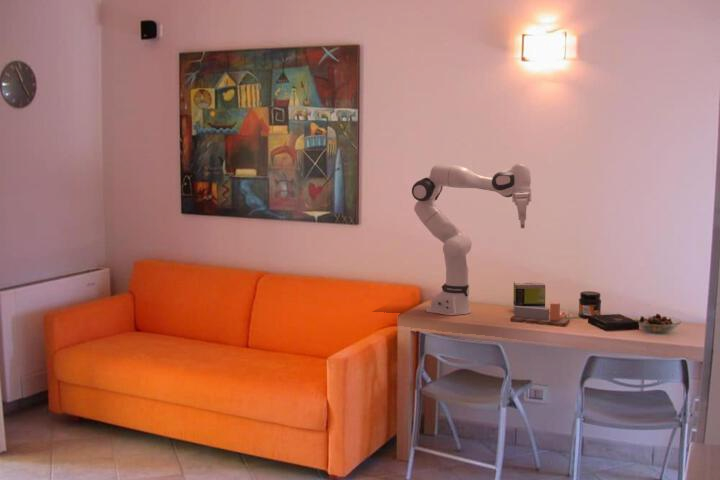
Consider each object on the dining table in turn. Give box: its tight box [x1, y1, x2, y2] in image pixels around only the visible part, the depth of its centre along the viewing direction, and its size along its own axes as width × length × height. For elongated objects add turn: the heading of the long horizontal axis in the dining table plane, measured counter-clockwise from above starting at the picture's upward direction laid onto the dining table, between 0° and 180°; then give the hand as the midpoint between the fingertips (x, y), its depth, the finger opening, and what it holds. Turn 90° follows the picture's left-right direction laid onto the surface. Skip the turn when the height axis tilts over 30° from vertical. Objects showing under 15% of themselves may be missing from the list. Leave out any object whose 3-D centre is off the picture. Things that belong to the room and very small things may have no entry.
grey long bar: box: [514, 306, 550, 320], centre depth 374 cm, size 16×2×5 cm, turn 65°
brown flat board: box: [510, 314, 570, 327], centre depth 373 cm, size 26×10×2 cm, turn 65°
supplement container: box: [578, 290, 602, 320], centre depth 382 cm, size 10×10×12 cm
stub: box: [549, 302, 561, 321], centre depth 369 cm, size 4×2×8 cm, turn 65°
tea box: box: [512, 281, 546, 311], centre depth 395 cm, size 15×10×15 cm, turn 84°
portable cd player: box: [587, 313, 640, 332], centre depth 364 cm, size 16×17×4 cm
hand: (522, 226), depth 366 cm, fingers open, 8 cm apart
